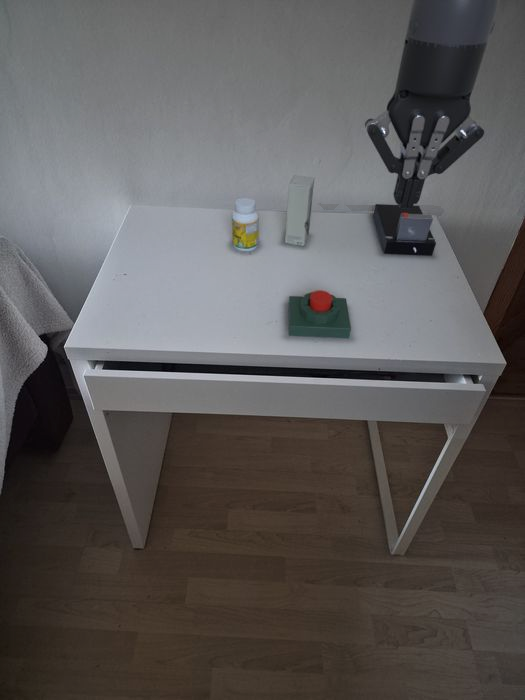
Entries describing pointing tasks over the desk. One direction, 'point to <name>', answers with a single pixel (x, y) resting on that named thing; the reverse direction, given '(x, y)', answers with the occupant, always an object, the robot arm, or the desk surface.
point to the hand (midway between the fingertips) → (403, 205)
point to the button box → (318, 318)
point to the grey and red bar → (413, 227)
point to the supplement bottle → (245, 225)
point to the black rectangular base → (387, 227)
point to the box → (299, 210)
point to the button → (320, 301)
